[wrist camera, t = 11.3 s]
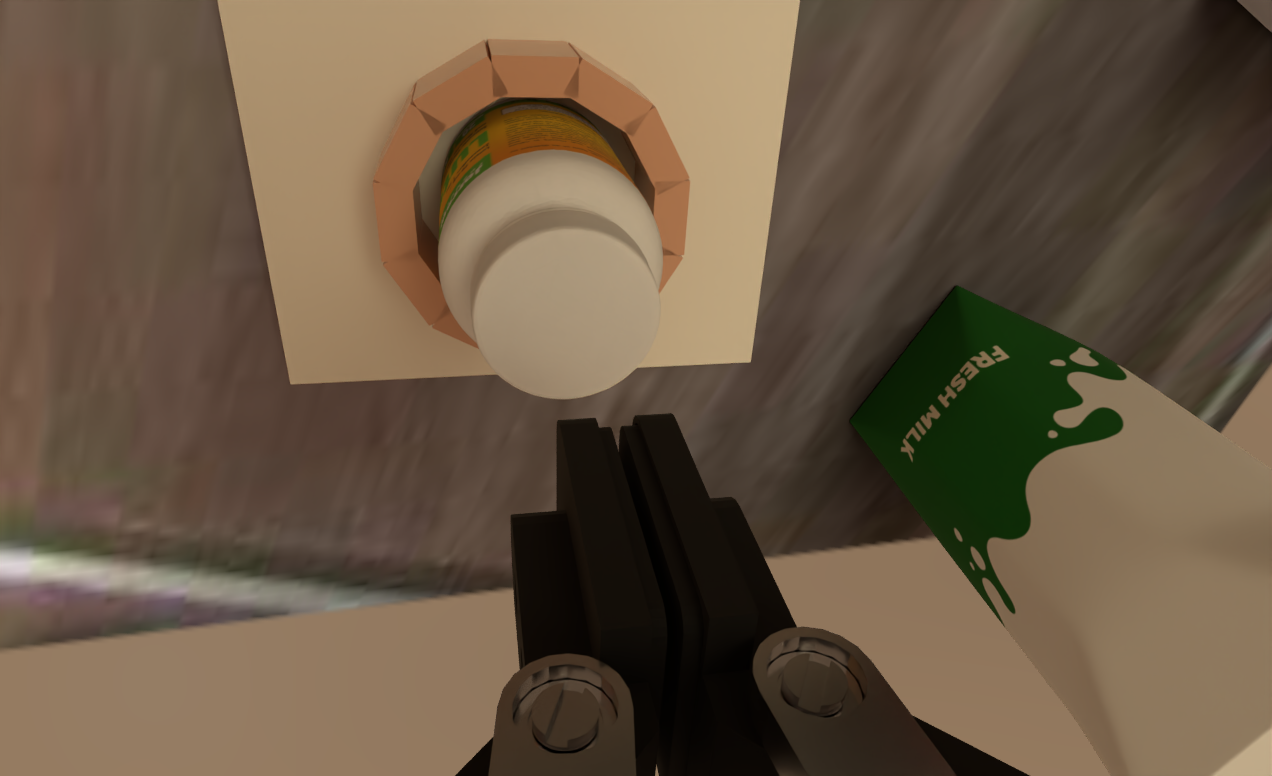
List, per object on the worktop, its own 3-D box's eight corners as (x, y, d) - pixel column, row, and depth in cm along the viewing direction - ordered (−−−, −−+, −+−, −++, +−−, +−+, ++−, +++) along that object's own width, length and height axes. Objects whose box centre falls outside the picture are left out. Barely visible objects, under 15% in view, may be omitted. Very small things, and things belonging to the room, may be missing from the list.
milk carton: (961, 496, 38) (1374, 975, 21) (816, 427, 34) (1174, 943, 17) (1097, 344, 35) (1710, 762, 18) (953, 251, 31) (1553, 667, 14)
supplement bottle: (456, 73, 23) (457, 164, 15) (635, 116, 25) (726, 221, 16) (429, 250, 25) (418, 412, 17) (594, 279, 27) (655, 441, 19)
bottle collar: (368, 35, 22) (357, 51, 20) (674, 43, 24) (700, 59, 21) (399, 320, 26) (393, 363, 24) (656, 311, 28) (676, 351, 26)
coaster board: (220, -66, 22) (205, -64, 20) (786, -38, 25) (804, -35, 23) (297, 362, 28) (290, 384, 27) (738, 343, 31) (750, 361, 30)
